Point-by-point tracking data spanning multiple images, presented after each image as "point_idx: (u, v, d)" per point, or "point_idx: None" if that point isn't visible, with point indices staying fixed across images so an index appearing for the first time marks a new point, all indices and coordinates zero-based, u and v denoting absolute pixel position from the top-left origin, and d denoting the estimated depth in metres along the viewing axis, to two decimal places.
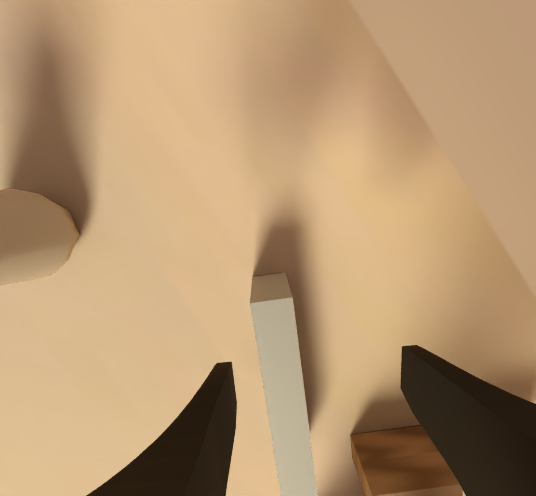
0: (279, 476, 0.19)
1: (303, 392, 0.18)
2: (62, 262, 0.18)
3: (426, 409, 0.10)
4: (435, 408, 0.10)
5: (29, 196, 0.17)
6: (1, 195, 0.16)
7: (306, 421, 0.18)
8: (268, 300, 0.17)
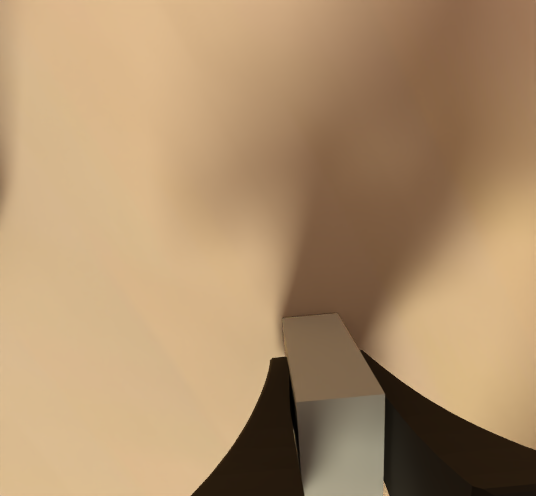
0: None
1: None
2: None
3: None
4: None
5: None
6: None
7: None
8: (334, 398, 0.08)
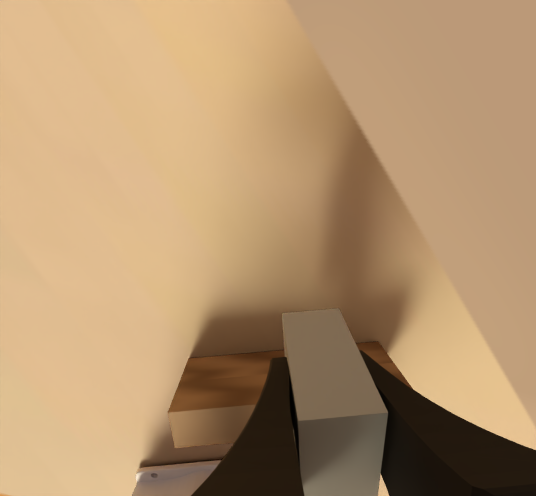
0: None
1: None
2: None
3: None
4: None
5: None
6: None
7: None
8: (336, 417, 0.08)
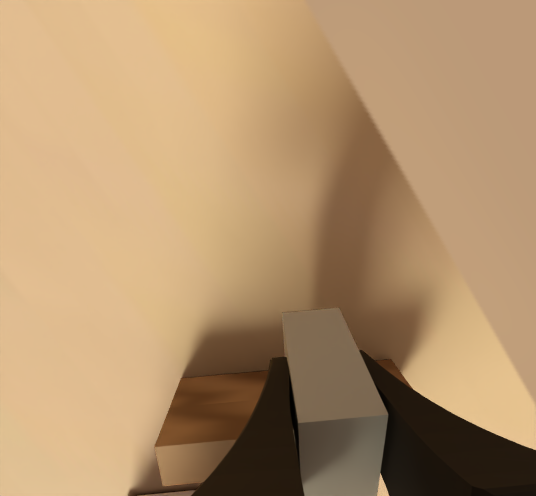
0: None
1: None
2: None
3: None
4: None
5: None
6: None
7: None
8: (337, 419, 0.08)
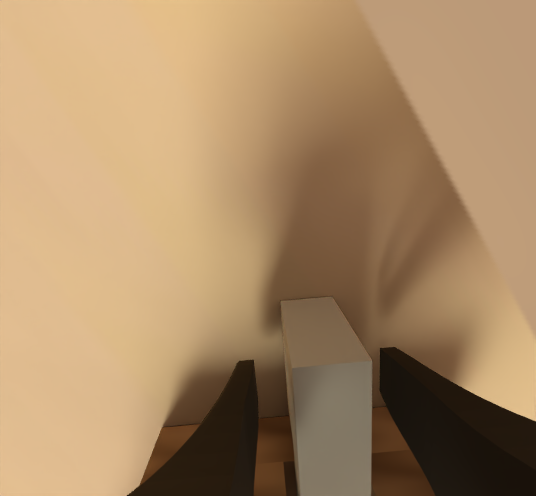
0: None
1: None
2: None
3: (401, 411, 0.10)
4: (409, 410, 0.10)
5: None
6: None
7: None
8: (326, 365, 0.09)
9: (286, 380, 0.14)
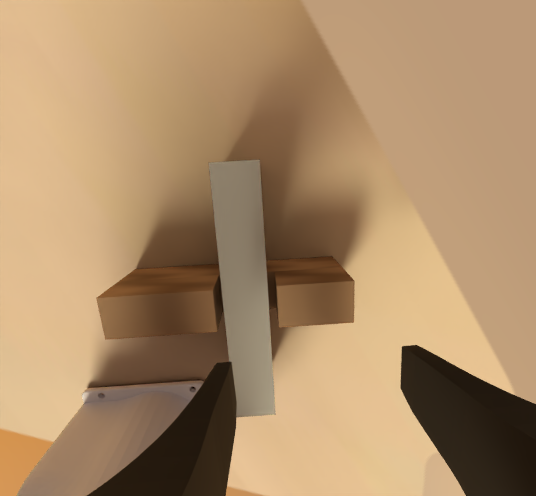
0: None
1: (266, 282, 0.16)
2: None
3: (426, 409, 0.10)
4: (435, 408, 0.10)
5: None
6: None
7: (267, 318, 0.16)
8: (230, 161, 0.14)
9: None
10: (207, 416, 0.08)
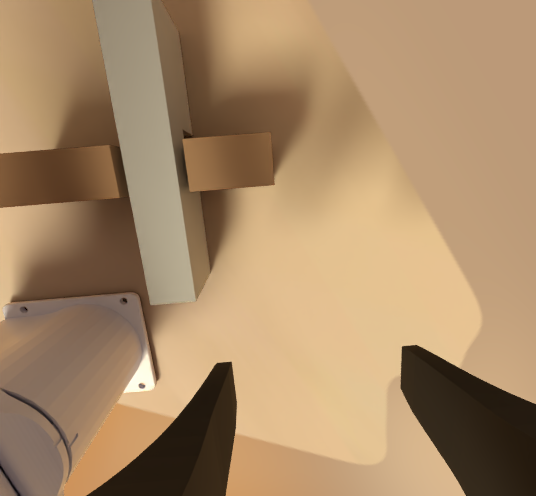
0: (144, 262, 0.15)
1: (169, 134, 0.14)
2: None
3: (426, 409, 0.10)
4: (435, 408, 0.10)
5: None
6: None
7: (175, 181, 0.14)
8: None
9: None
10: (207, 416, 0.08)
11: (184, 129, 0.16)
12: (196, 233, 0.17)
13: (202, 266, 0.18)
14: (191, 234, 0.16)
